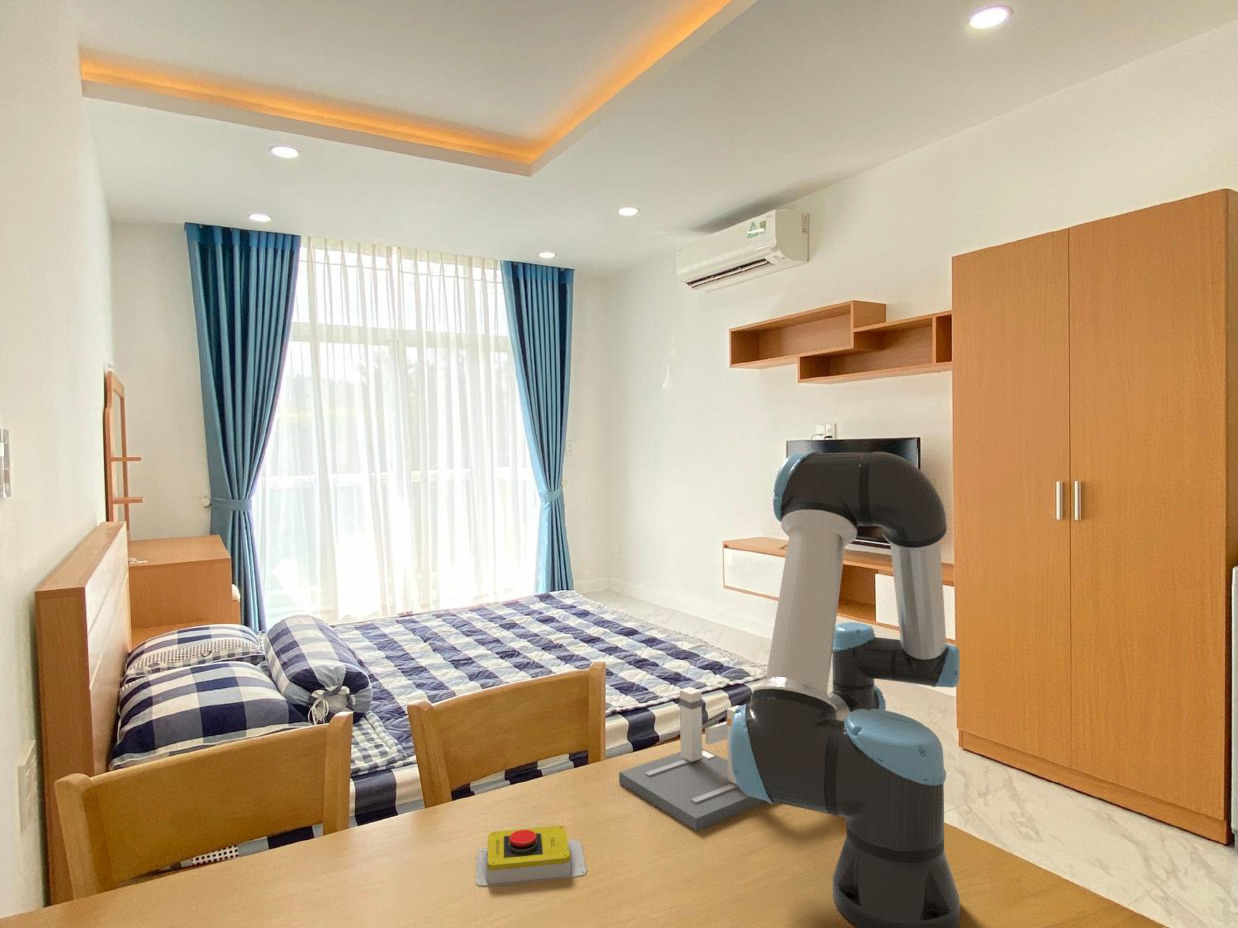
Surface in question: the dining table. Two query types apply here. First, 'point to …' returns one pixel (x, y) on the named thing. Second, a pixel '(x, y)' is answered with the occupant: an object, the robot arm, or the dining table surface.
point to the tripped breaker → (729, 720)
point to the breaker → (691, 723)
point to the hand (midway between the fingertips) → (734, 749)
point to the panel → (689, 789)
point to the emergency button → (529, 856)
